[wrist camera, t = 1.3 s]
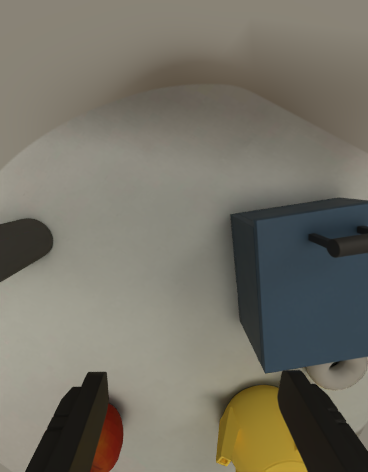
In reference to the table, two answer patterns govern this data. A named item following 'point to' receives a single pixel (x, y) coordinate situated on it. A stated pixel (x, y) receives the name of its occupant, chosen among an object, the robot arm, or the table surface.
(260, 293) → the cool box lid
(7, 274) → the bottle
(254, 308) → the cool box
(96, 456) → the fruit
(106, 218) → the table surface
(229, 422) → the teapot
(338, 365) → the donut
